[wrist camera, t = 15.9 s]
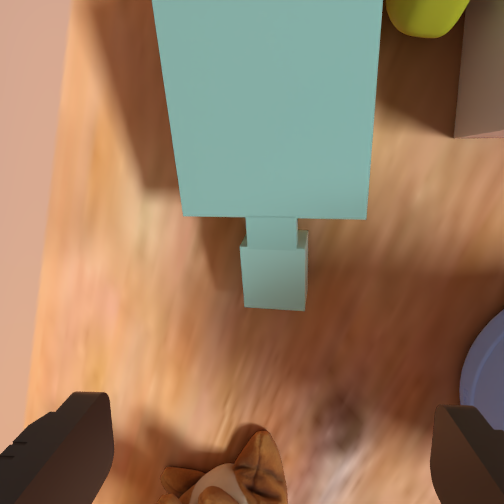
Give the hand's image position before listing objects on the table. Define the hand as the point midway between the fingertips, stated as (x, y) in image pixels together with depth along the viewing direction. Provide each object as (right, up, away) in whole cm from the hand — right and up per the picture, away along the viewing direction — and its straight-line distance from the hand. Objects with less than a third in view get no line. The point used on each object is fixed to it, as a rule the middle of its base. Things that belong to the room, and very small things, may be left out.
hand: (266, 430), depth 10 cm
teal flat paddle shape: (+1, +10, +14) cm, 18 cm away
